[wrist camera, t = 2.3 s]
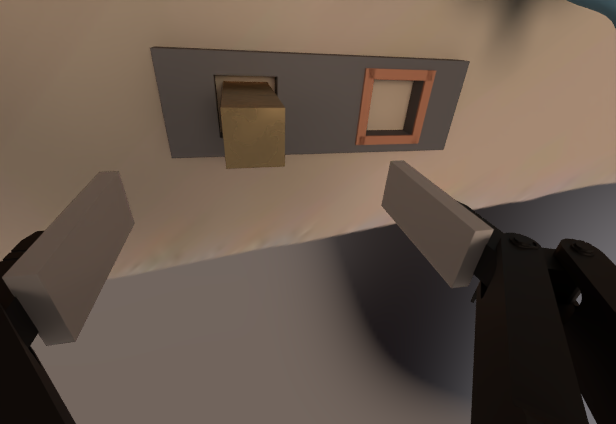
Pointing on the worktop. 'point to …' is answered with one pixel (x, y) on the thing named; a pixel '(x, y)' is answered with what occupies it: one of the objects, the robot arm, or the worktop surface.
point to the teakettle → (600, 7)
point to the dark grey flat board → (307, 99)
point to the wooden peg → (252, 125)
